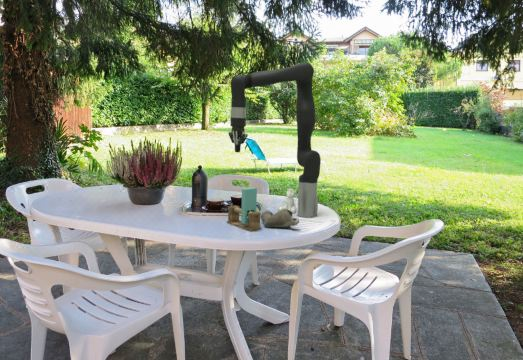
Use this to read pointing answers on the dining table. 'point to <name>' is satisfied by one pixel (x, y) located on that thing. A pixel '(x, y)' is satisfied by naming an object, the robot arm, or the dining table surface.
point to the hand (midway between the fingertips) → (237, 152)
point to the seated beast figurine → (289, 201)
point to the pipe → (279, 219)
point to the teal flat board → (248, 203)
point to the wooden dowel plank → (234, 220)
